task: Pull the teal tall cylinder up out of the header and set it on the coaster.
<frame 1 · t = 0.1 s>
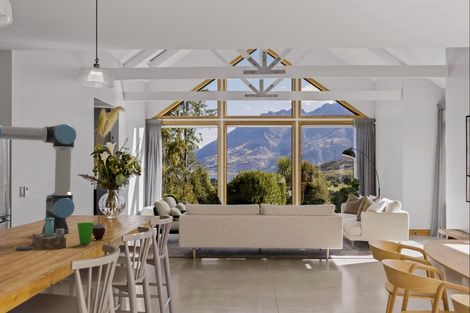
mate gourd: (98, 239, 302), on the table
cup: (85, 244, 283), on the table
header: (48, 245, 275), on the table
coaster: (23, 249, 261), on the table
teal tall cylinder: (48, 245, 275), resting in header
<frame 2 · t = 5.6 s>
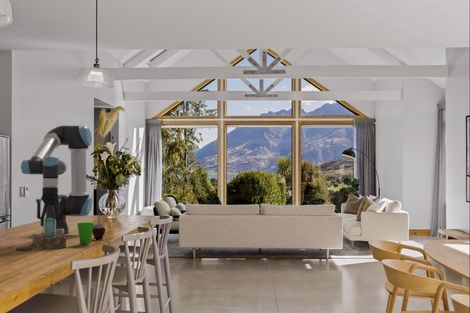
hand: (49, 232, 275), 7 cm above the table, fingers closed on teal tall cylinder, 5 cm apart
teal tall cylinder: (48, 245, 275), resting in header, touching gripper
everything else where it was.
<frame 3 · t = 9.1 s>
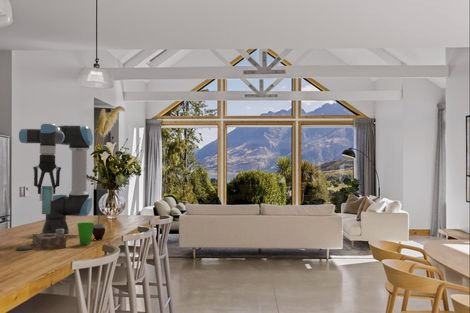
hand: (46, 200, 273), 23 cm above the table, fingers closed on teal tall cylinder, 5 cm apart
teal tall cylinder: (46, 213, 273), point 16 cm above the table, touching gripper
everything else where it was.
when the fingers open (9 cm above the table, at t = 13.1 s): teal tall cylinder drops 1 cm, resting on coaster.
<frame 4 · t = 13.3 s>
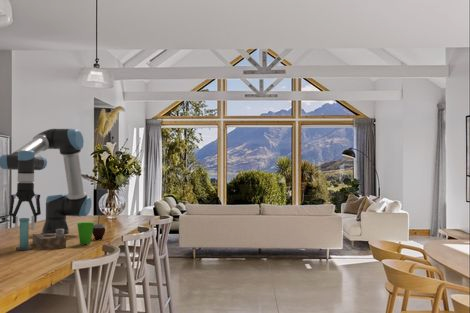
hand: (24, 229, 261), 10 cm above the table, fingers open, 7 cm apart
teal tall cylinder: (23, 247, 261), point 1 cm above the table, touching coaster
everything else where it was.
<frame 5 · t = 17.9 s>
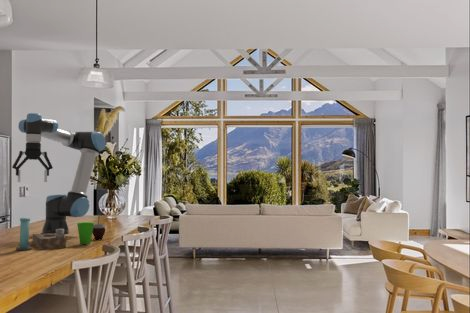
hand: (32, 182, 289), 32 cm above the table, fingers open, 13 cm apart
nothing on the table moved.
at the end: teal tall cylinder inside the target area on the coaster (0.0 cm from its centre), point 1.0 cm above the coaster's base; teal tall cylinder tilted 1°; the gripper is holding nothing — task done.
